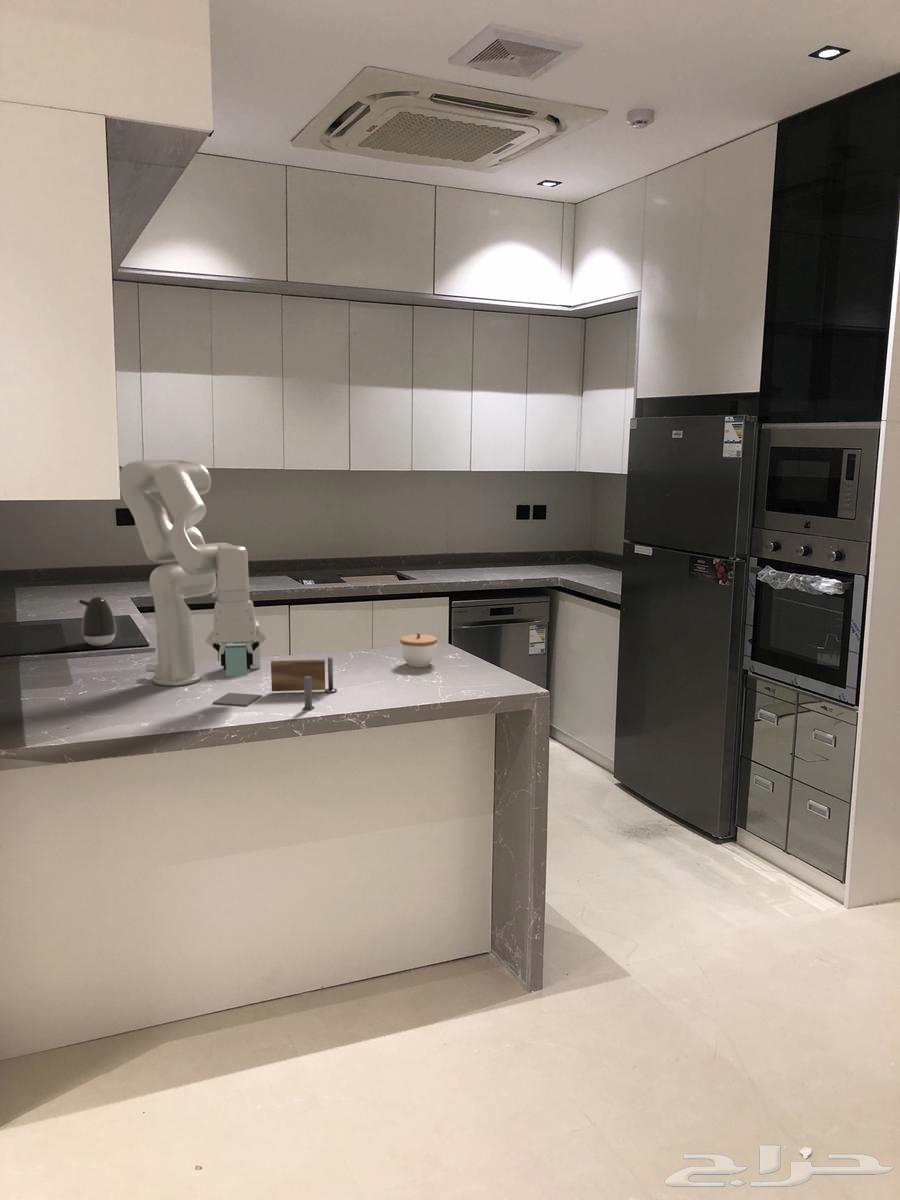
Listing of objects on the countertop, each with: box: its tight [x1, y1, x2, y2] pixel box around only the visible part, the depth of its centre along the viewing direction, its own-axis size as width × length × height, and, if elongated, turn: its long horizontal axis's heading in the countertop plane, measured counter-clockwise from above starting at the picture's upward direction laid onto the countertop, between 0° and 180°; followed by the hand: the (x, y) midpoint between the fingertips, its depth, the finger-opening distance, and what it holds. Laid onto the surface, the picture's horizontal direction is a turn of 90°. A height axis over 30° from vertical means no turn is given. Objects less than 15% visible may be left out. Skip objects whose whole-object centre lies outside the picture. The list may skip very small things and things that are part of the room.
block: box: [225, 643, 250, 677], centre depth 237 cm, size 5×5×7 cm
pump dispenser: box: [79, 596, 117, 647], centre depth 299 cm, size 10×10×15 cm
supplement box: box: [232, 620, 261, 670], centre depth 271 cm, size 7×7×13 cm
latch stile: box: [302, 676, 315, 711], centre depth 231 cm, size 2×2×8 cm
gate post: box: [324, 656, 338, 694], centre depth 246 cm, size 3×3×9 cm
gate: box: [270, 659, 326, 692], centre depth 245 cm, size 2×14×8 cm, turn 97°
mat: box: [212, 692, 263, 707], centre depth 239 cm, size 9×9×1 cm
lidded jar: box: [399, 632, 438, 668], centre depth 275 cm, size 11×11×9 cm
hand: (237, 667), depth 237 cm, fingers closed on block, 5 cm apart
